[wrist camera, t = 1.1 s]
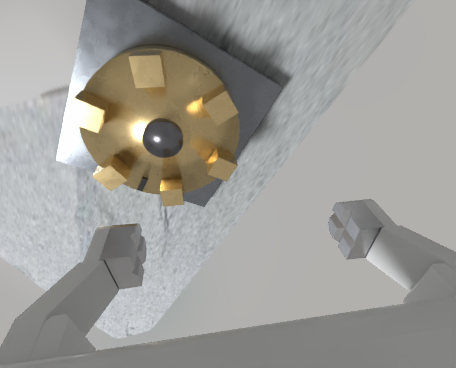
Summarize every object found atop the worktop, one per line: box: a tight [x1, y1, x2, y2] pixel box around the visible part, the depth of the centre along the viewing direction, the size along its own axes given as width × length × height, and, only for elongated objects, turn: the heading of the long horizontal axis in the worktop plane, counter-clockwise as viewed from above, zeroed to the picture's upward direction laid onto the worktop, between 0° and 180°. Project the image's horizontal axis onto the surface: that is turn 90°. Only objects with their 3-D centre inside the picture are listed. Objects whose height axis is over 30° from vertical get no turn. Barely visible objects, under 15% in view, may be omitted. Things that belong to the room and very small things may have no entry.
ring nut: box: [69, 45, 240, 206], centre depth 32 cm, size 20×20×6 cm
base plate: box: [56, 0, 283, 207], centre depth 35 cm, size 24×24×2 cm
